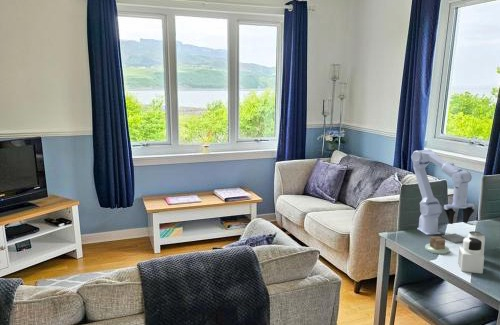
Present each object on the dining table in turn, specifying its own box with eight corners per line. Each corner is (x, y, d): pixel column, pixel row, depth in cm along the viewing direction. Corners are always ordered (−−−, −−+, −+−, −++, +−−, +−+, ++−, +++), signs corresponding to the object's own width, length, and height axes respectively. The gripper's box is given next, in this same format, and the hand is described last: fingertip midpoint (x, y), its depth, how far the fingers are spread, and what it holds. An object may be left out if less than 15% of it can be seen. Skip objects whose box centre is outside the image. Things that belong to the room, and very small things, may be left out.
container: (478, 265, 158) (481, 236, 156) (482, 274, 151) (485, 243, 148) (457, 263, 160) (460, 235, 158) (461, 271, 153) (464, 241, 151)
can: (462, 256, 167) (464, 231, 165) (476, 255, 168) (478, 230, 165) (472, 262, 161) (474, 236, 159) (486, 262, 161) (489, 235, 159)
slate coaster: (441, 236, 190) (441, 235, 190) (455, 234, 193) (455, 233, 193) (455, 243, 182) (455, 241, 182) (469, 241, 184) (470, 239, 184)
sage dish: (420, 246, 179) (420, 243, 179) (440, 245, 180) (440, 242, 180) (433, 254, 169) (433, 252, 169) (453, 253, 170) (453, 251, 170)
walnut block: (429, 245, 176) (430, 236, 176) (438, 245, 177) (439, 236, 176) (435, 249, 172) (436, 240, 171) (444, 249, 172) (445, 239, 172)
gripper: (451, 198, 173) (449, 226, 176) (480, 197, 175) (477, 224, 177) (442, 194, 180) (440, 221, 183) (469, 193, 182) (467, 220, 184)
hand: (457, 222), depth 180 cm, fingers open, 7 cm apart
